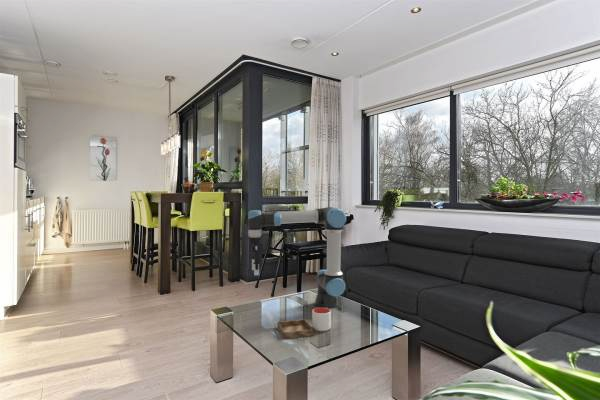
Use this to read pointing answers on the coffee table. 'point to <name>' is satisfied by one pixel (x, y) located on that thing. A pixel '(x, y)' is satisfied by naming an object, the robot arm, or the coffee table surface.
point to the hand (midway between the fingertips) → (255, 272)
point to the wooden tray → (295, 329)
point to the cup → (321, 319)
